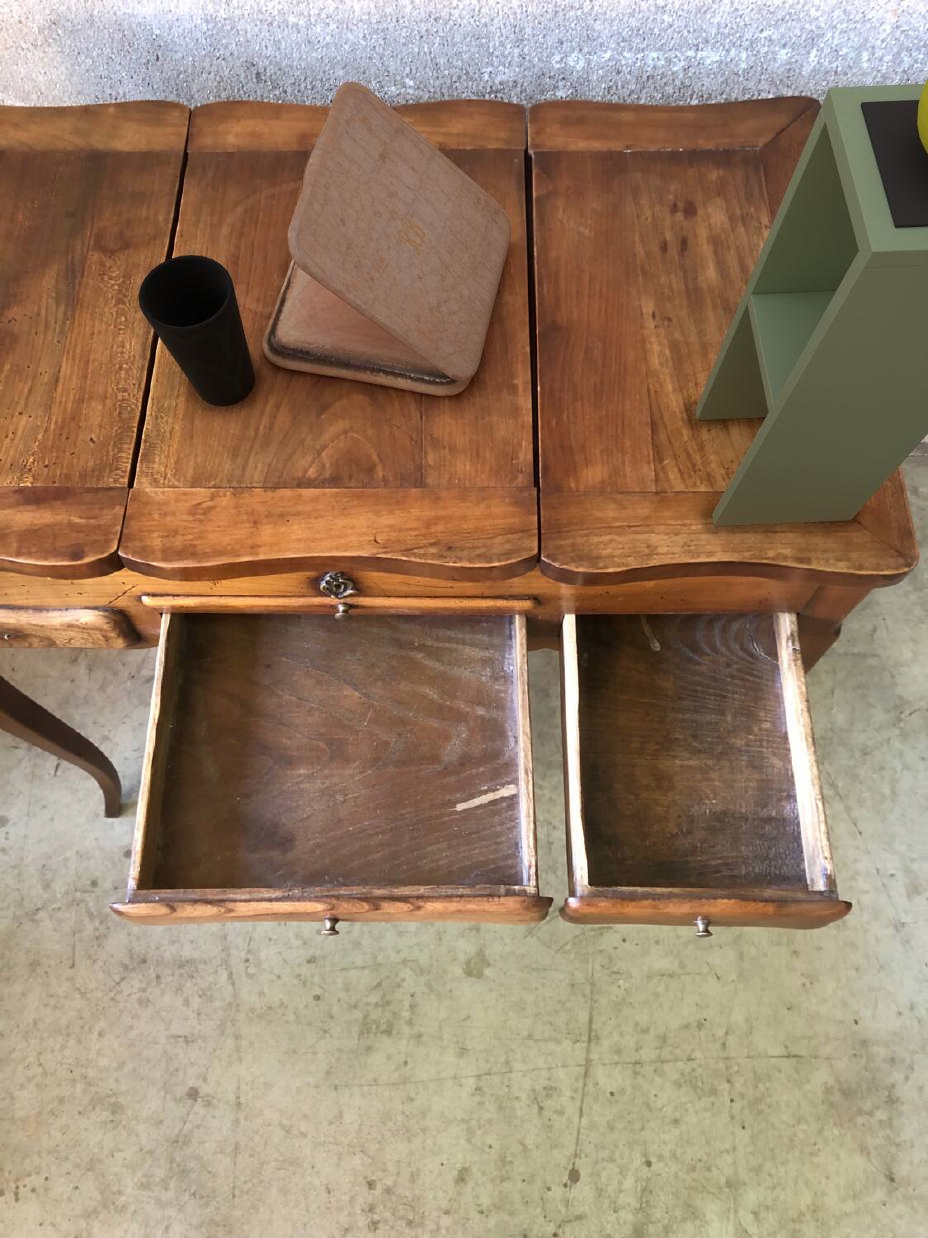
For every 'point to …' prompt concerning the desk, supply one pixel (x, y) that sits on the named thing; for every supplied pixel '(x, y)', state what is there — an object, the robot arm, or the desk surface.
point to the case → (387, 257)
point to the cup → (200, 326)
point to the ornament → (923, 116)
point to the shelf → (833, 320)
